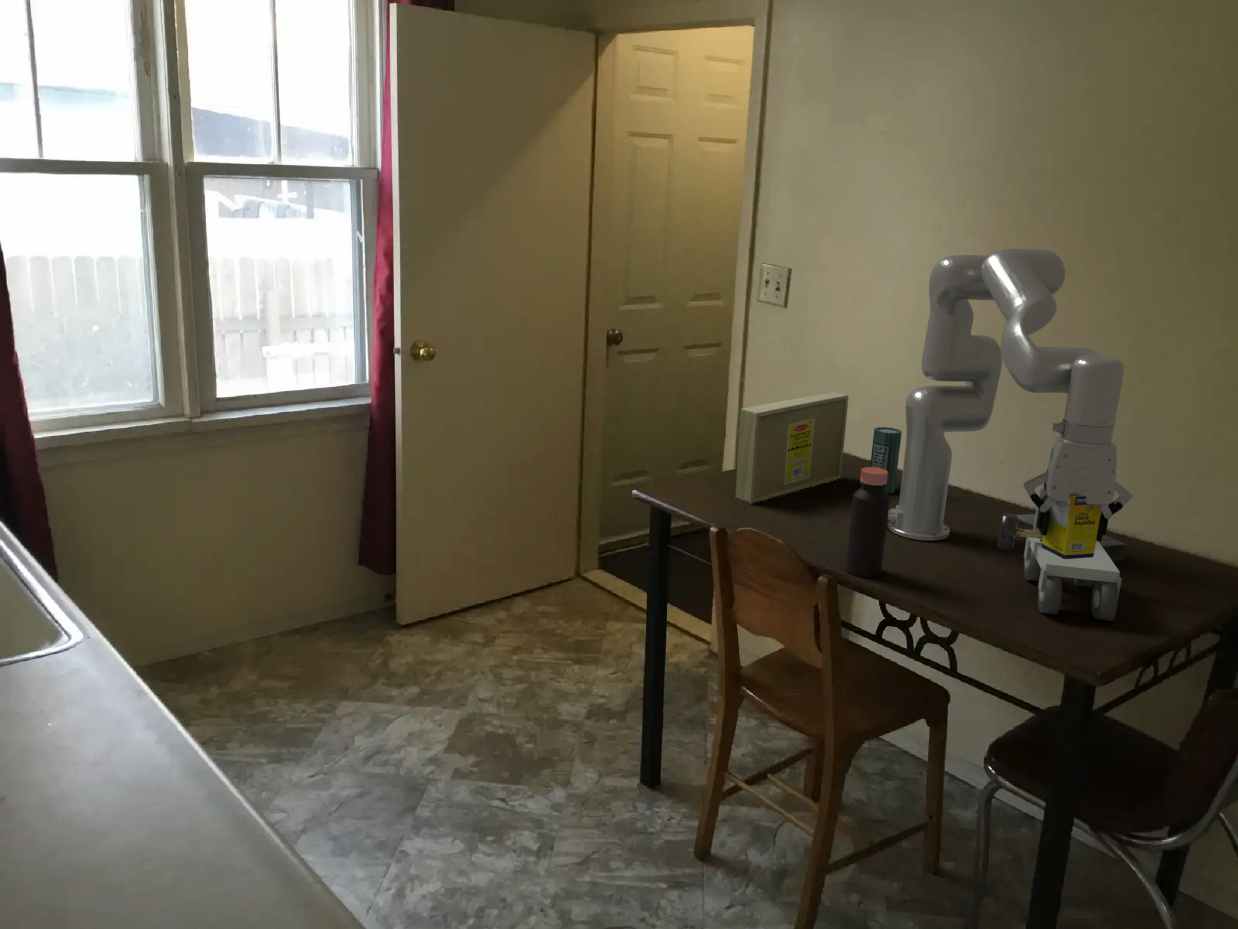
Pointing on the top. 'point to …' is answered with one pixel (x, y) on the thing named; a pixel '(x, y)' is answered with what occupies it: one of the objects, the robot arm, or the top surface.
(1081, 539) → the supplement box
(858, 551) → the bottle
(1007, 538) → the hammer
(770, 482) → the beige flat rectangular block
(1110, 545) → the stone block
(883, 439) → the can
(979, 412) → the robot arm
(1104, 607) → the trolley
